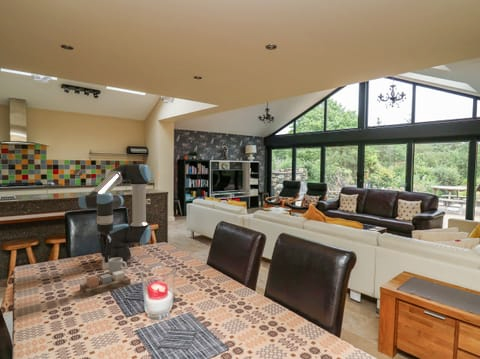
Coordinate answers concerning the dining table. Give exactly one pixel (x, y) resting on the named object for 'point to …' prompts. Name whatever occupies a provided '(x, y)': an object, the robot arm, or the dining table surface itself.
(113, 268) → the cup
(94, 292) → the key block
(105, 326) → the dining table surface
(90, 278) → the terracotta key
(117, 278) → the cream key
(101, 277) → the slate key
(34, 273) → the dining table surface
